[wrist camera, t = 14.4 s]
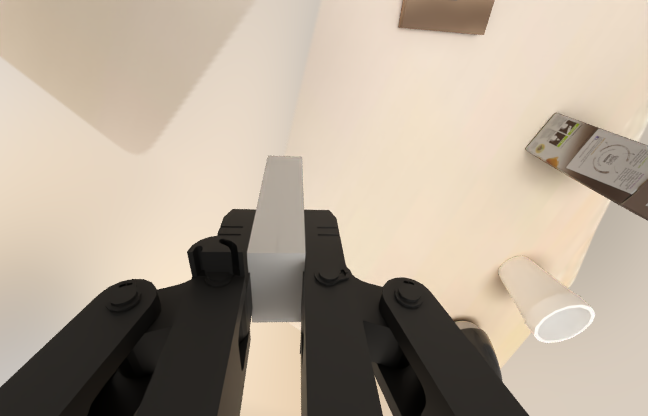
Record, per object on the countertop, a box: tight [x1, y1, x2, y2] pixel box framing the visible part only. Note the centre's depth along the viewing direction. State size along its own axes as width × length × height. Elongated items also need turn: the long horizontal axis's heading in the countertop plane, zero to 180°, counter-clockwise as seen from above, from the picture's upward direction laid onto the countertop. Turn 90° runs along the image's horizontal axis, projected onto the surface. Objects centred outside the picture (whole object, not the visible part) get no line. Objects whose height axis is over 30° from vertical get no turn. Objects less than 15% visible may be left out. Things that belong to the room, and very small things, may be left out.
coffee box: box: [526, 113, 648, 220], centre depth 39 cm, size 9×6×16 cm
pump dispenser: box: [455, 321, 502, 381], centre depth 61 cm, size 10×10×15 cm
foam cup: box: [498, 256, 595, 343], centre depth 53 cm, size 10×9×13 cm
